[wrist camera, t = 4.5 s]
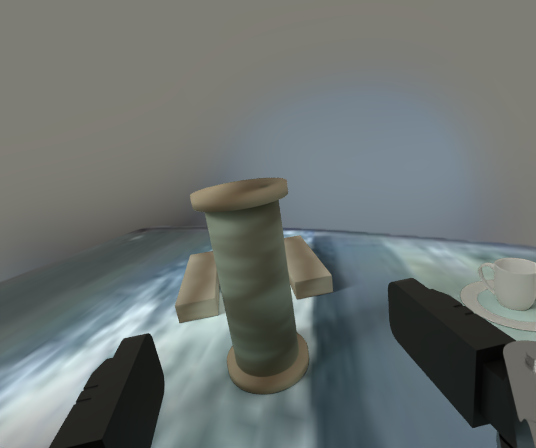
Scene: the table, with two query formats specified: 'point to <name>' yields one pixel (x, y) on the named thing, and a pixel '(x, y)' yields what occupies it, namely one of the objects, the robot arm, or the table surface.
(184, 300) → the tan u-shaped bracket
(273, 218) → the bobbin
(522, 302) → the white curved piece
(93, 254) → the table surface
